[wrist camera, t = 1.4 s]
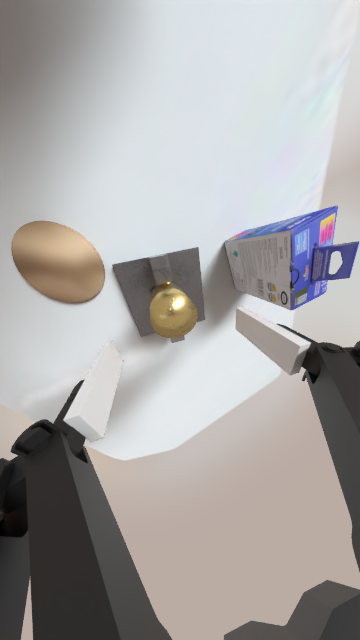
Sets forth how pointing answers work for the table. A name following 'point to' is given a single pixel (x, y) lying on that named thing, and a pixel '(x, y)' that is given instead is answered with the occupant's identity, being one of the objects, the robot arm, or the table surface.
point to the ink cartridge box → (289, 259)
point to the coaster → (58, 261)
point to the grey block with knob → (155, 270)
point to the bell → (171, 311)
